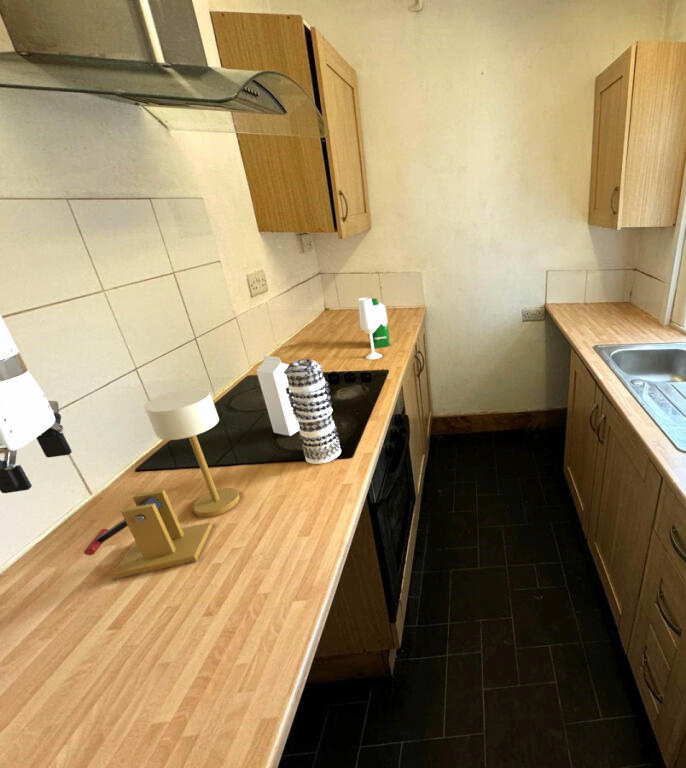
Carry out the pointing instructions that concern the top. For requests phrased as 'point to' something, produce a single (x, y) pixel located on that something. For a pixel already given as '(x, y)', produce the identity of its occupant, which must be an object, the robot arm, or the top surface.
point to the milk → (277, 395)
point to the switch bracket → (159, 537)
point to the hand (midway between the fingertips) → (40, 471)
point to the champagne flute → (368, 323)
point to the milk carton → (380, 326)
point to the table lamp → (191, 438)
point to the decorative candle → (312, 411)
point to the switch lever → (114, 529)
